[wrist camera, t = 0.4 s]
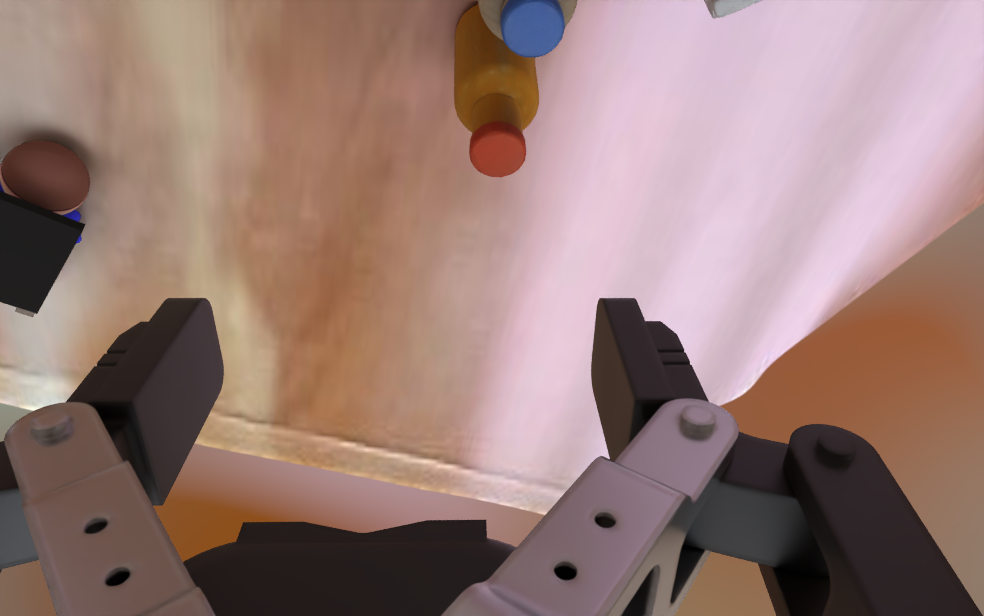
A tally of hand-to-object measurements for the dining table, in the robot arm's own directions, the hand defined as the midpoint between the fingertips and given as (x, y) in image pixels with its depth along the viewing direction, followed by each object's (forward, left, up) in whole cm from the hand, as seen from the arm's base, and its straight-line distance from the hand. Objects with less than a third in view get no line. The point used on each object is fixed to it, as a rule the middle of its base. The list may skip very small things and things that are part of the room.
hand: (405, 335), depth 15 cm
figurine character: (0, -38, -31) cm, 49 cm away
